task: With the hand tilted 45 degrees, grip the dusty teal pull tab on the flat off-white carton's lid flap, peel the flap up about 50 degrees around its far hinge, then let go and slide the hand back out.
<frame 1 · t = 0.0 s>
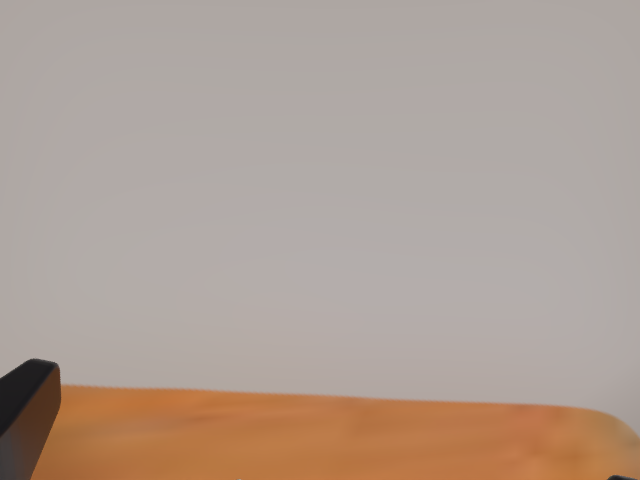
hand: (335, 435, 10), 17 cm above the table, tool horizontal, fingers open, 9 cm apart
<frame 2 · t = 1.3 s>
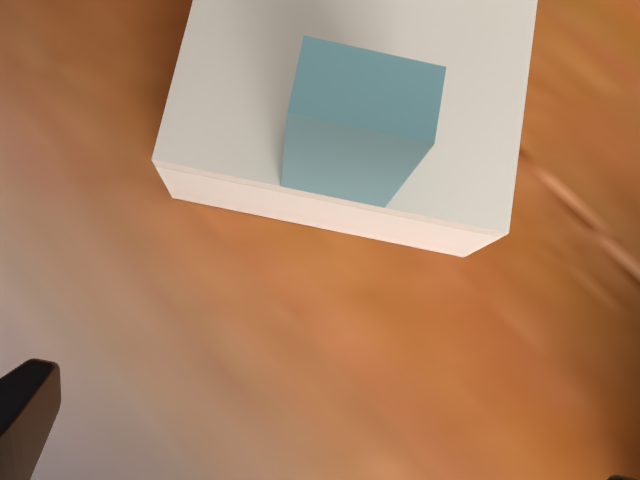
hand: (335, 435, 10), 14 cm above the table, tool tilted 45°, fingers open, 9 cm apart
carton: (339, 125, 25), on the table
flap: (369, 31, 18), point 7 cm above the table, hinge at 0.0°
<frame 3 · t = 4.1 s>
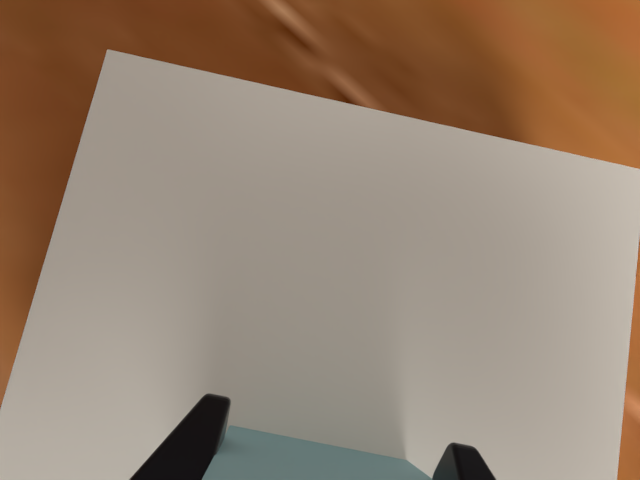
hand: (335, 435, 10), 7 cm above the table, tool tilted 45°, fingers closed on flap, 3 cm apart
flap: (364, 304, 10), point 7 cm above the table, hinge at 0.0°, touching gripper
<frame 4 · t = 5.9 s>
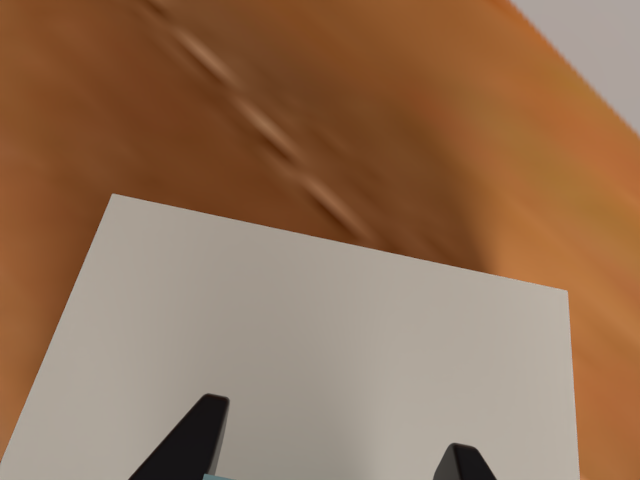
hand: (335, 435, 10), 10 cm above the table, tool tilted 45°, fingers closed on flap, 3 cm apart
flap: (337, 379, 11), point 9 cm above the table, hinge at 20.1°, touching gripper
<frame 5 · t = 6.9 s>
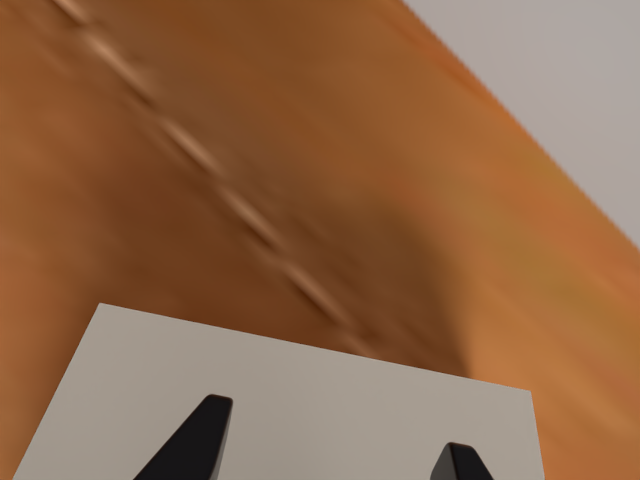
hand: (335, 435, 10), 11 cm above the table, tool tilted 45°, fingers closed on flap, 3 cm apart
flap: (317, 459, 11), point 9 cm above the table, hinge at 34.9°, touching gripper
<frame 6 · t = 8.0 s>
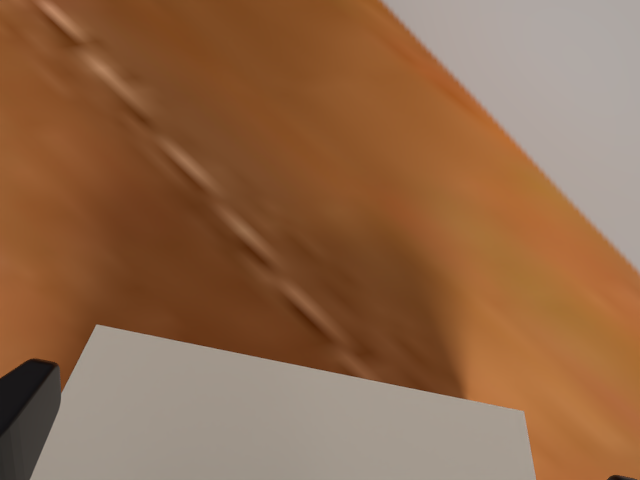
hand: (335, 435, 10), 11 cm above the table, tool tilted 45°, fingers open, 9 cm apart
flap: (313, 475, 11), point 9 cm above the table, hinge at 37.7°
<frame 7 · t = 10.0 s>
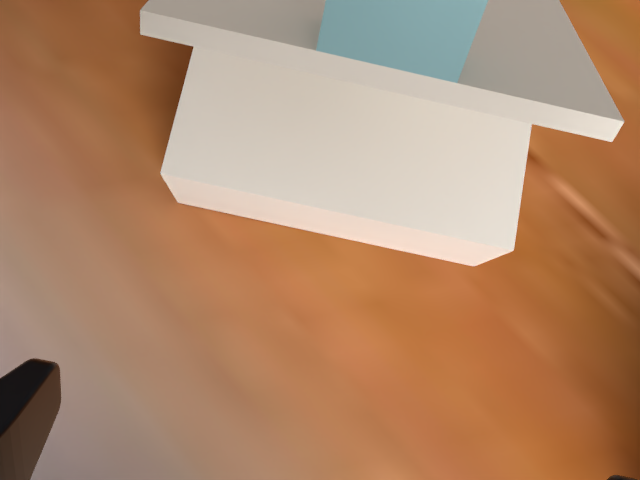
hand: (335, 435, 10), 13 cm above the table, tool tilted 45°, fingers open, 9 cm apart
carton: (349, 129, 25), on the table
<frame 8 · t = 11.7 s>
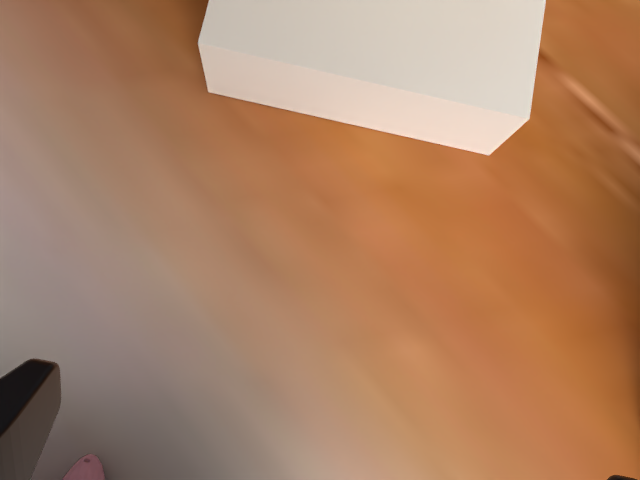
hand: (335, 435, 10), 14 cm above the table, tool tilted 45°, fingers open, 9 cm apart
carton: (369, 28, 26), on the table
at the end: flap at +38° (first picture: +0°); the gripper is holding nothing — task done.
